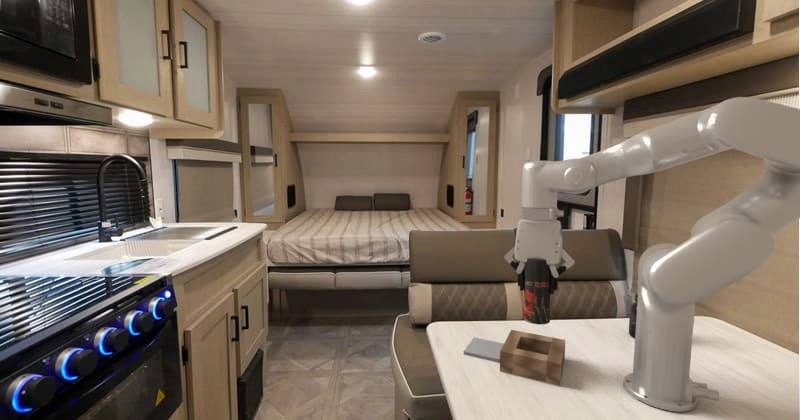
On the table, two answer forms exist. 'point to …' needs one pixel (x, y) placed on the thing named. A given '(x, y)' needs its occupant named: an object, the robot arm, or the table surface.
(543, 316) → the deodorant
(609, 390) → the table surface
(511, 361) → the socket block
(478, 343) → the rubber mat
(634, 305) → the supplement bottle
